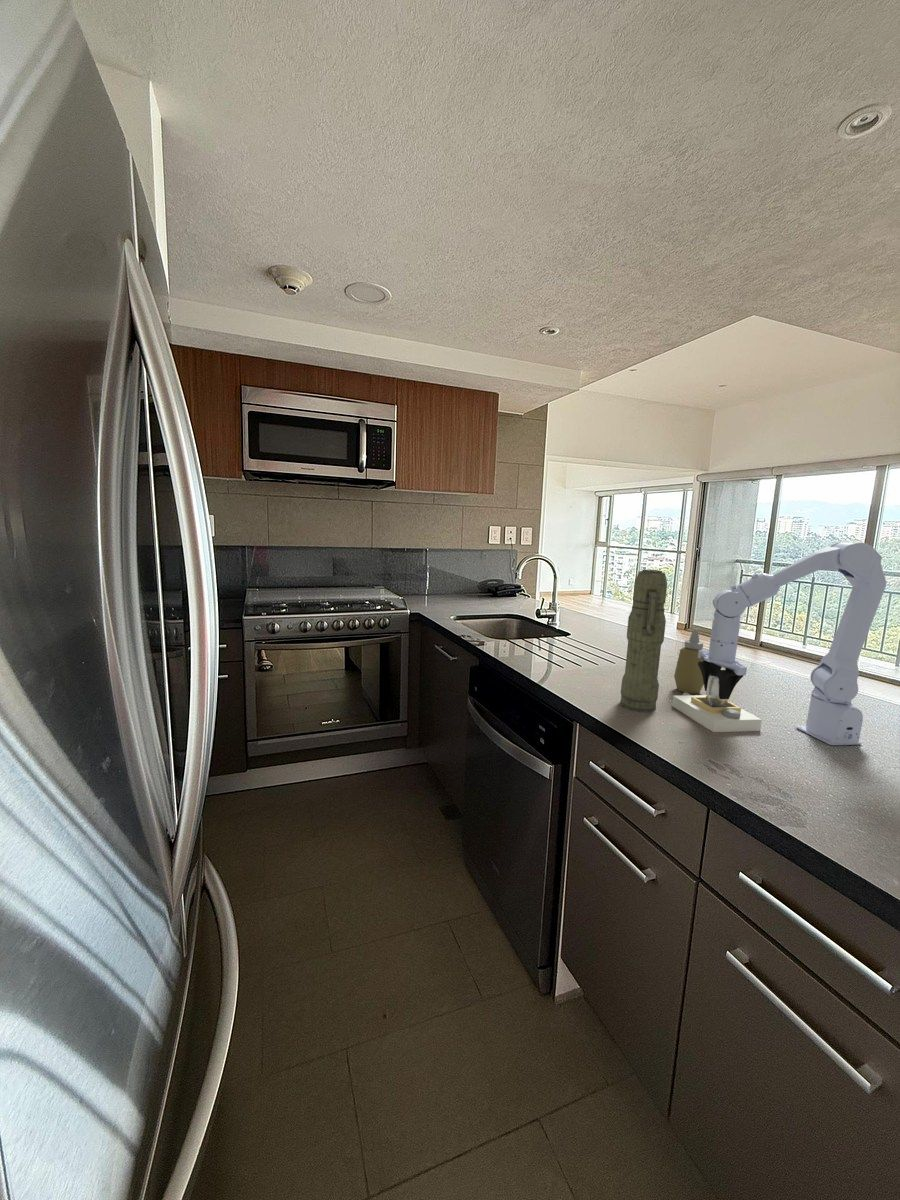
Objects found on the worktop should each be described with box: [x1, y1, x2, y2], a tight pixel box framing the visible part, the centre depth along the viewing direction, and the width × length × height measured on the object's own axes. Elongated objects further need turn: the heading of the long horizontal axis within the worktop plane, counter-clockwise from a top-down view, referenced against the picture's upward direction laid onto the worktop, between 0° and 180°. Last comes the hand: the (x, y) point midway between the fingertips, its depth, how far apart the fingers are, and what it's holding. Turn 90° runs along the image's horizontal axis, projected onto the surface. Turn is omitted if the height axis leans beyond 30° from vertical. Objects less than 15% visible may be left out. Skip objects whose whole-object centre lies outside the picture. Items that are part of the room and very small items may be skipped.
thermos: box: [620, 569, 668, 713], centre depth 125 cm, size 9×12×35 cm
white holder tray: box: [671, 692, 763, 733], centre depth 122 cm, size 20×12×4 cm, turn 8°
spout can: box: [705, 673, 729, 707], centre depth 120 cm, size 5×5×9 cm
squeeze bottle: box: [673, 628, 704, 695], centre depth 139 cm, size 8×8×18 cm
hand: (716, 694), depth 120 cm, fingers closed on spout can, 5 cm apart
